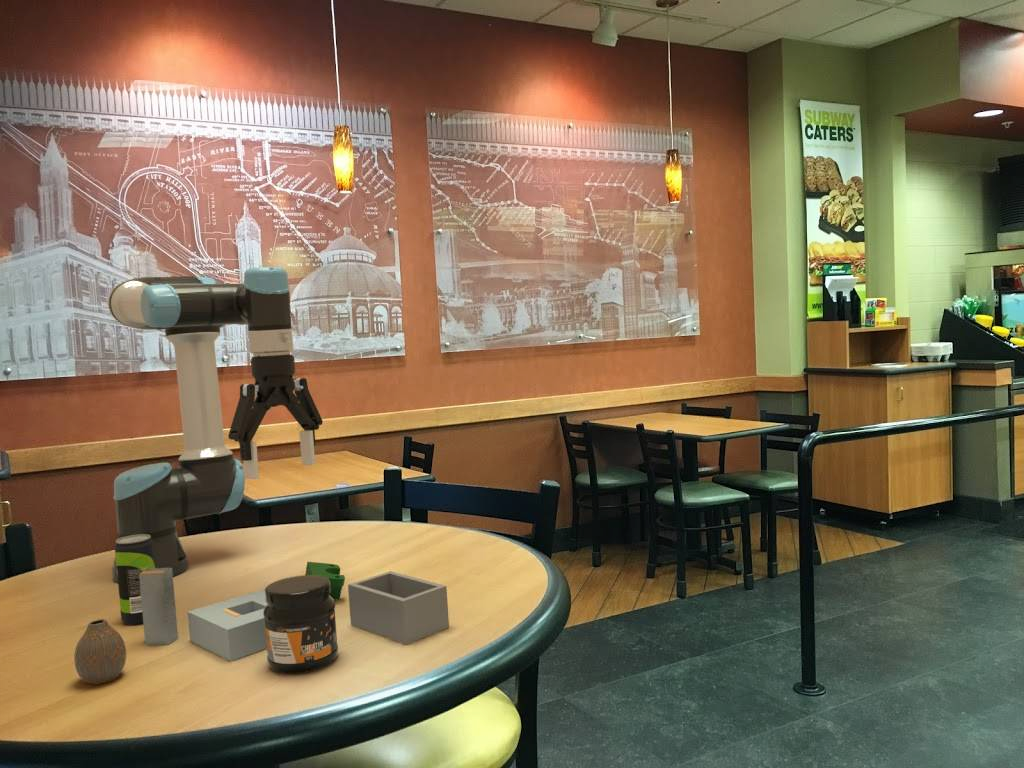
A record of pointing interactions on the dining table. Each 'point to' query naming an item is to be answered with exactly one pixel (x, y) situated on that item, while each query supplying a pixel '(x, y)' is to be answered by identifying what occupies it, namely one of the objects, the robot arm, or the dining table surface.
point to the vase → (99, 653)
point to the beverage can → (132, 573)
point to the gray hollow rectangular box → (398, 606)
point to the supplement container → (300, 624)
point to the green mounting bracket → (328, 576)
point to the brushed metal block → (158, 606)
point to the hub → (231, 626)
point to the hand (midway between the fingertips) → (281, 471)
